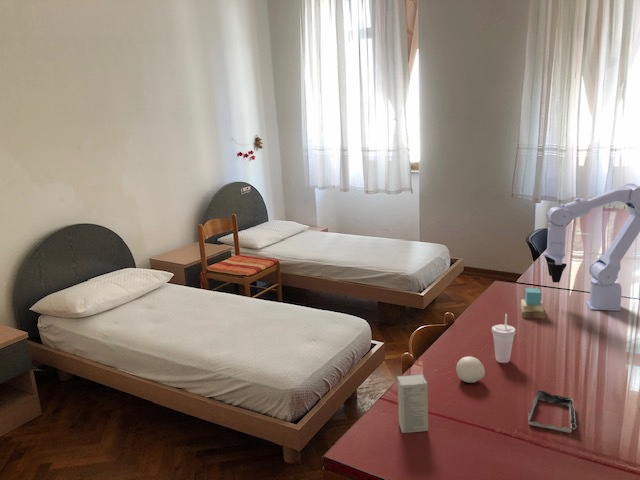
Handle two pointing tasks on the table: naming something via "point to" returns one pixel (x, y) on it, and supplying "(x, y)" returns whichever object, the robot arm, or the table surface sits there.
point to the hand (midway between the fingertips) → (554, 278)
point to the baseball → (470, 369)
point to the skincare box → (412, 403)
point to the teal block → (532, 296)
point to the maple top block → (532, 307)
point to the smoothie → (503, 341)
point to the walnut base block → (532, 314)
